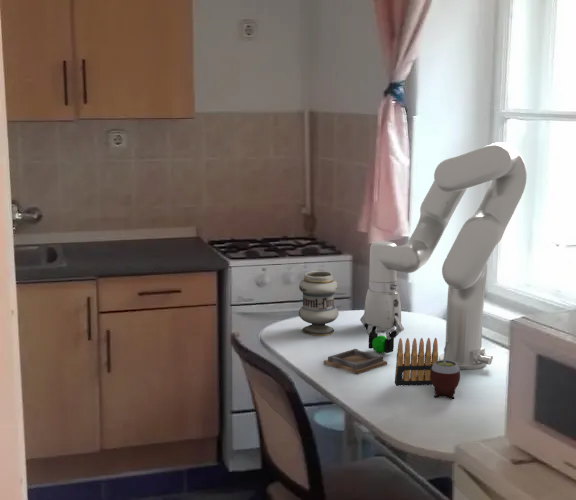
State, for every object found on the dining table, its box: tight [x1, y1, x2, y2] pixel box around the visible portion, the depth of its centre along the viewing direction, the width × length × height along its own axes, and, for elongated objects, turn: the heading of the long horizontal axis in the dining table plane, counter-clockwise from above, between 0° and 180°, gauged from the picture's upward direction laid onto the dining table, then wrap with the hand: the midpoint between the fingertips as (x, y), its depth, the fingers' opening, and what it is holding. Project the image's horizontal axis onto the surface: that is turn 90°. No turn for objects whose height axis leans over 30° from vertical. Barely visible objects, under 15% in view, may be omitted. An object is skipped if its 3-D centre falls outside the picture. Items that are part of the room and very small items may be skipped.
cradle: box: [323, 348, 388, 375], centre depth 228 cm, size 12×12×2 cm
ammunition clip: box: [394, 337, 439, 387], centre depth 212 cm, size 11×2×12 cm, turn 94°
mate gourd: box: [430, 341, 461, 400], centre depth 204 cm, size 8×8×15 cm
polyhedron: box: [372, 335, 387, 354], centre depth 239 cm, size 5×5×5 cm
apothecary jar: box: [298, 270, 340, 337], centre depth 258 cm, size 12×12×18 cm
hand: (380, 349), depth 239 cm, fingers closed on polyhedron, 5 cm apart
